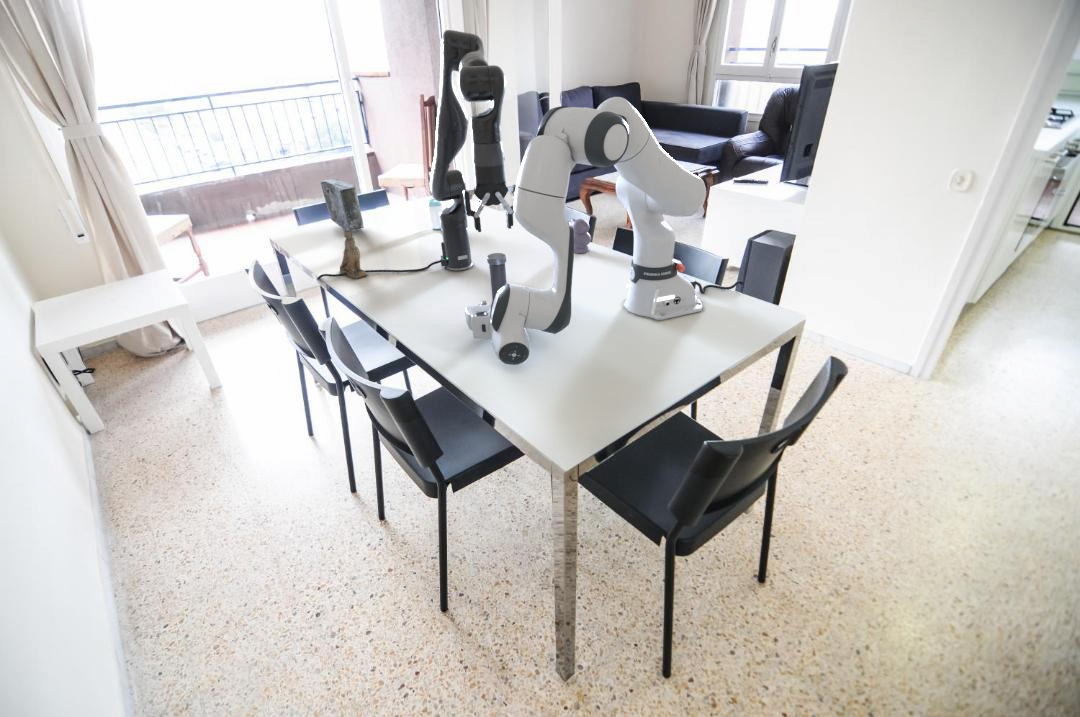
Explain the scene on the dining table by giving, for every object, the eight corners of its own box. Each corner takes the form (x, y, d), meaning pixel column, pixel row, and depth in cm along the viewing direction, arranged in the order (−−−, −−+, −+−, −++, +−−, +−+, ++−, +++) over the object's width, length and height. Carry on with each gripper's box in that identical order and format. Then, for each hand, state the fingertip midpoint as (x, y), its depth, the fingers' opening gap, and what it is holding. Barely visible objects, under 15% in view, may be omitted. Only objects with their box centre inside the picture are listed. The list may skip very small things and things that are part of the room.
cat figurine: (595, 249, 191) (595, 218, 185) (582, 255, 186) (582, 223, 180) (577, 245, 196) (578, 214, 190) (564, 250, 191) (564, 219, 185)
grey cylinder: (491, 323, 141) (485, 258, 131) (500, 318, 144) (494, 253, 134) (503, 327, 139) (498, 261, 129) (512, 321, 142) (507, 256, 132)
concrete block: (369, 233, 219) (358, 186, 208) (349, 237, 215) (337, 190, 204) (349, 220, 237) (339, 177, 227) (331, 224, 233) (319, 180, 223)
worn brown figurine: (368, 281, 178) (362, 235, 166) (353, 285, 175) (347, 238, 163) (352, 266, 184) (346, 221, 172) (338, 270, 181) (331, 224, 169)
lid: (483, 263, 132) (483, 257, 131) (495, 257, 135) (494, 251, 134) (498, 266, 129) (498, 260, 129) (509, 260, 133) (509, 254, 132)
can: (445, 229, 220) (441, 202, 214) (429, 230, 220) (425, 202, 214) (447, 224, 226) (444, 198, 220) (432, 225, 226) (428, 198, 220)
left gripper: (514, 157, 124) (518, 222, 132) (457, 161, 121) (464, 228, 129) (521, 162, 118) (524, 230, 126) (460, 167, 115) (468, 237, 123)
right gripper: (545, 308, 126) (536, 286, 138) (465, 316, 124) (462, 294, 135) (546, 329, 130) (537, 307, 141) (468, 338, 127) (465, 315, 139)
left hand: (494, 229), depth 128 cm, fingers open, 7 cm apart
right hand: (500, 301), depth 138 cm, fingers open, 8 cm apart
